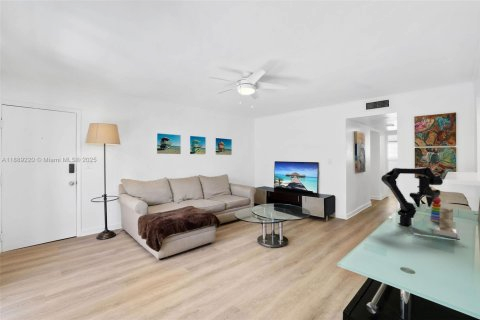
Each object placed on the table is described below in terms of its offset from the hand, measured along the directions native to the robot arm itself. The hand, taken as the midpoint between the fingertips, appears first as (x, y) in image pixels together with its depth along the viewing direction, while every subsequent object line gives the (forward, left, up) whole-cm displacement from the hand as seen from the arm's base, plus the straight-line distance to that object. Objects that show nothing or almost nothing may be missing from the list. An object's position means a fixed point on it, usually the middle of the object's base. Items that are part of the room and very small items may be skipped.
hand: (423, 207), depth 154 cm
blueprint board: (-1, -15, -13) cm, 20 cm away
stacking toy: (+18, +5, -13) cm, 23 cm away
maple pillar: (-6, -19, -9) cm, 22 cm away
